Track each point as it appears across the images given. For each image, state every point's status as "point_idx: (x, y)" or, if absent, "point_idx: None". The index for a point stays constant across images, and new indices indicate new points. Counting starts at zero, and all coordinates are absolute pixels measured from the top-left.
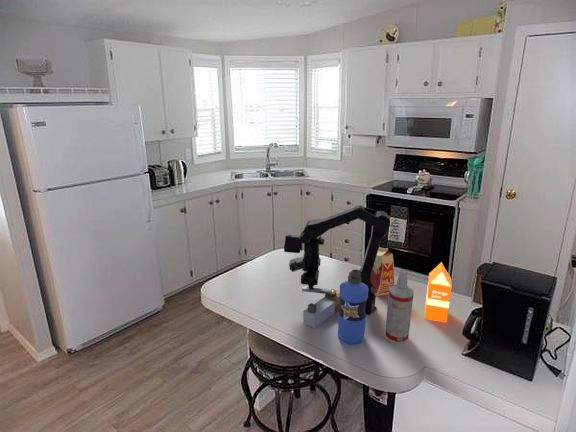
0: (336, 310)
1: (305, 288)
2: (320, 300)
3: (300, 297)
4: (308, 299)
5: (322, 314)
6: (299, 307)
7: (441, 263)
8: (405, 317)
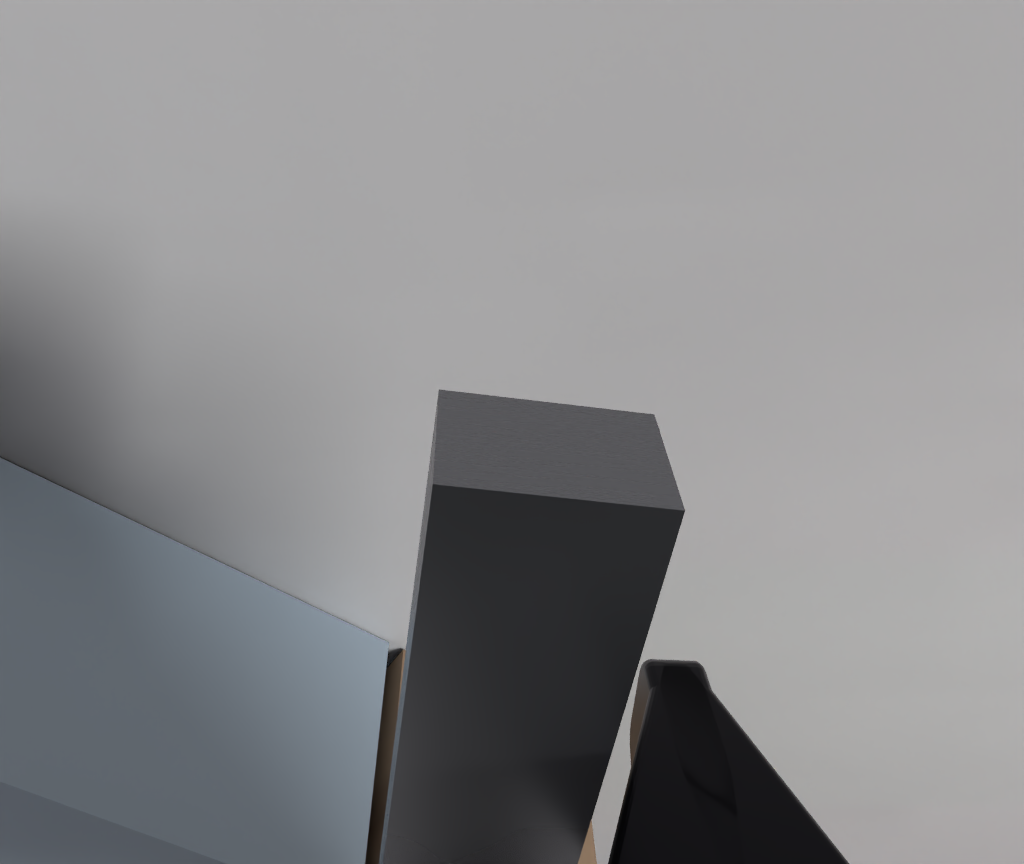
0: None
1: (439, 634)
2: (140, 847)
3: (949, 69)
4: (805, 312)
5: None
6: (336, 77)
7: None
8: None
